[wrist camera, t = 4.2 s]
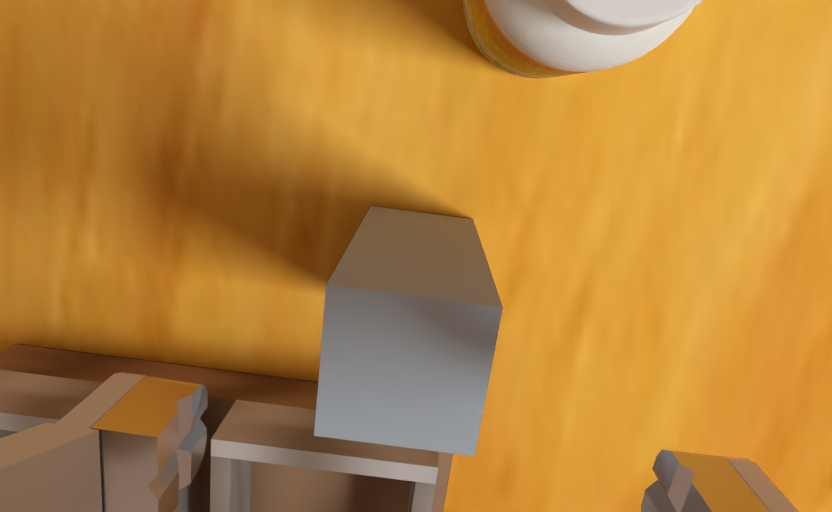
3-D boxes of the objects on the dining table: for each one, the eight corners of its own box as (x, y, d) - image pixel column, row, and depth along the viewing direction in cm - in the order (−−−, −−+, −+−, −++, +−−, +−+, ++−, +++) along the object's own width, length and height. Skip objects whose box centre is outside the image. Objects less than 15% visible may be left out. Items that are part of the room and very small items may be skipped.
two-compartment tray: (455, 400, 23) (461, 470, 18) (430, 546, 25) (430, 638, 21) (16, 344, 23) (-82, 402, 18) (32, 496, 25) (-52, 579, 21)
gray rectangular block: (472, 219, 20) (502, 307, 12) (457, 313, 22) (474, 456, 13) (370, 205, 20) (326, 284, 12) (361, 300, 22) (313, 435, 13)
